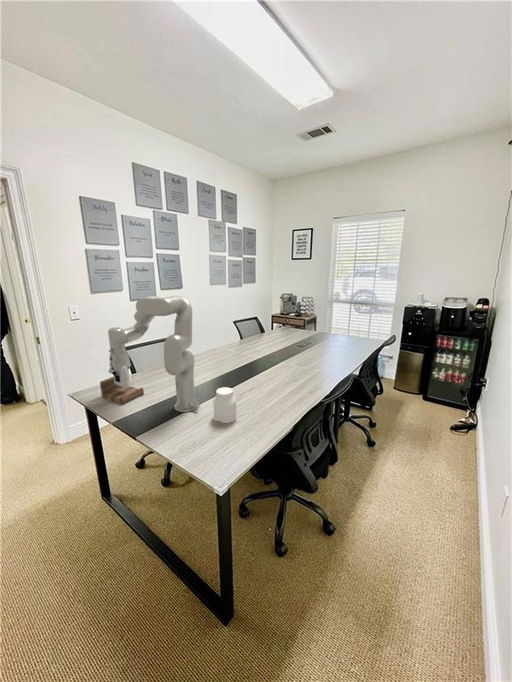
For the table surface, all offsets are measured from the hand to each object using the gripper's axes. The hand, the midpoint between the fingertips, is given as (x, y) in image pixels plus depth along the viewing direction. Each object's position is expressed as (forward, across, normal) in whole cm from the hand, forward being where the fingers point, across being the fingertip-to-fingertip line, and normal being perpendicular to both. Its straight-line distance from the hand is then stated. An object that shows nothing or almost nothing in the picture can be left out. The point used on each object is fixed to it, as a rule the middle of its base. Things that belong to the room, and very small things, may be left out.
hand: (121, 379), depth 161 cm
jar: (+10, +7, -66) cm, 67 cm away
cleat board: (+11, 0, -1) cm, 11 cm away
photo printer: (+4, 0, 0) cm, 4 cm away
